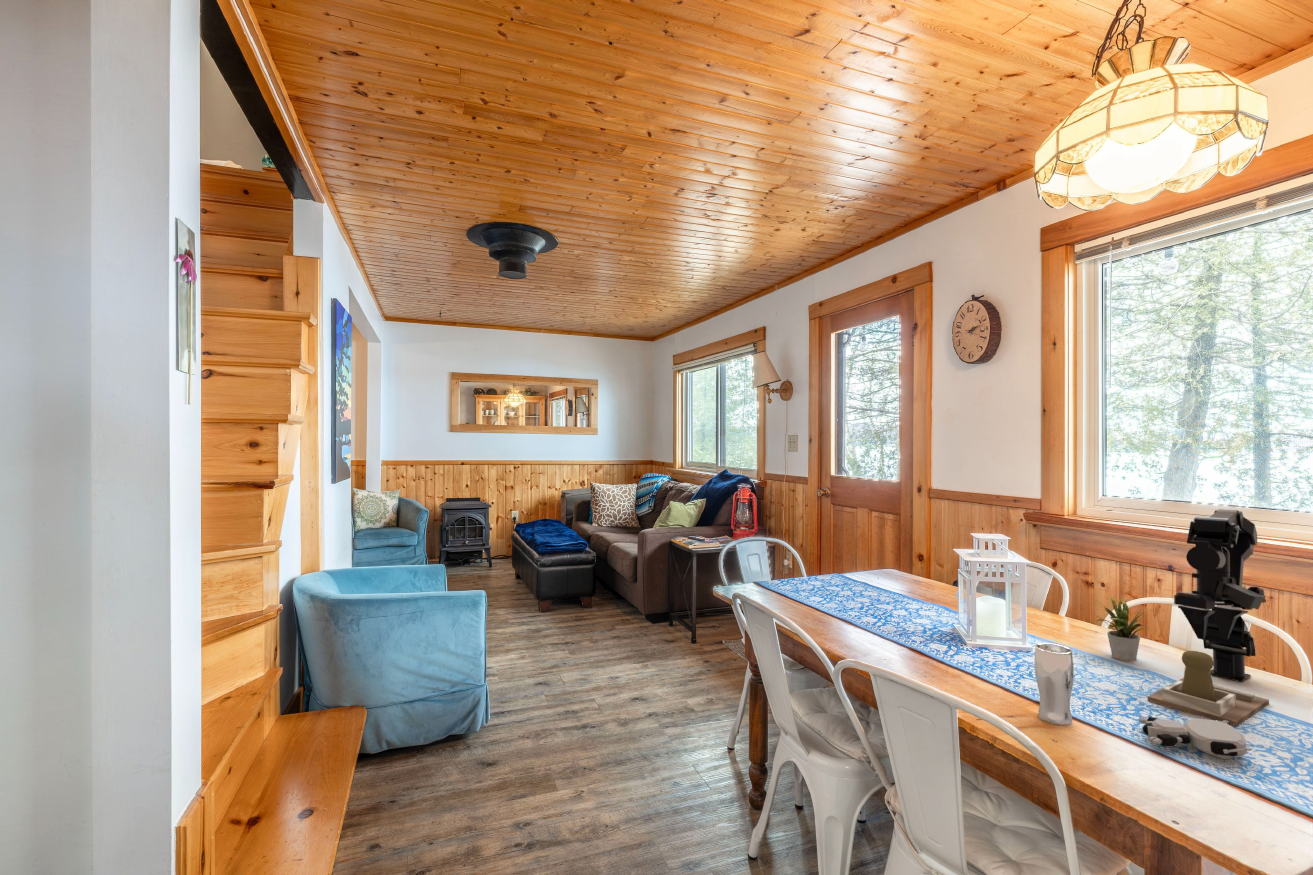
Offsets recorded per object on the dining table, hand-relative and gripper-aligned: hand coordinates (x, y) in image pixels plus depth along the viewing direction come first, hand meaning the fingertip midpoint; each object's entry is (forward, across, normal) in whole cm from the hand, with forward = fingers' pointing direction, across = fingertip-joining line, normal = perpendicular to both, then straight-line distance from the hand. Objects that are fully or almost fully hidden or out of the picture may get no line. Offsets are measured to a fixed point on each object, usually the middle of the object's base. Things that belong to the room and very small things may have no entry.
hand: (1213, 638), depth 139 cm
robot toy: (+17, -32, -12) cm, 38 cm away
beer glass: (+18, -44, +6) cm, 48 cm away
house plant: (+11, +8, +25) cm, 28 cm away
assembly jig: (+13, -6, -2) cm, 15 cm away
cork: (+13, -10, -3) cm, 17 cm away
